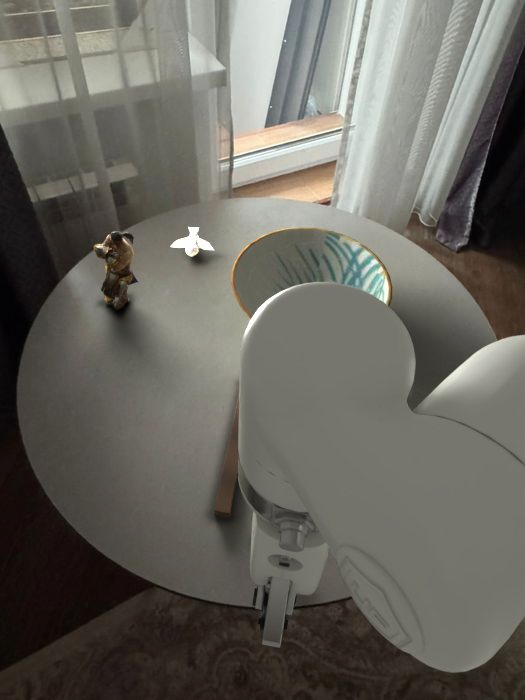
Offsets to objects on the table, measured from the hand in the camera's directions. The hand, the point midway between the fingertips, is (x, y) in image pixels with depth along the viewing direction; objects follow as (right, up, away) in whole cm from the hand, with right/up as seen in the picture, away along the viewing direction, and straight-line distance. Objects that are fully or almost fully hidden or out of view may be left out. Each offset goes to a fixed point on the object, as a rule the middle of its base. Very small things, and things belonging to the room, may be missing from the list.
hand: (279, 547), depth 44 cm
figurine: (-24, +25, +40) cm, 53 cm away
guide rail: (-5, +4, +26) cm, 26 cm away
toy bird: (-14, +35, +49) cm, 62 cm away
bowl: (+6, +23, +41) cm, 48 cm away
